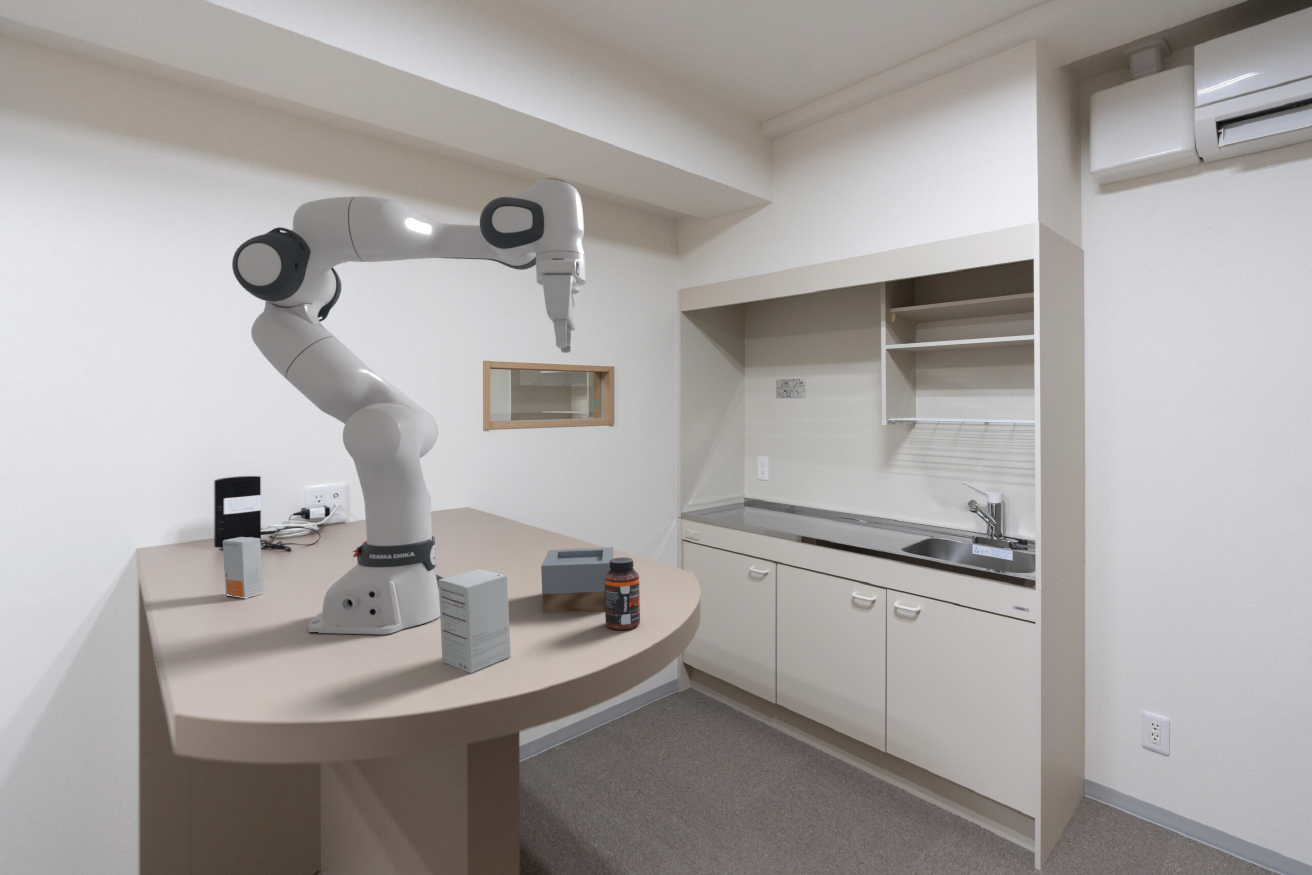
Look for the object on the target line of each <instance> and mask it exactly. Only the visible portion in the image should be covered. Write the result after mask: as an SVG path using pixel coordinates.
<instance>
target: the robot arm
mask: <svg viewBox="0 0 1312 875" xmlns="http://www.w3.org/2000/svg"><path fill="white" fill-rule="evenodd" d="M292 218H293V220H292V229H289V228H286V227H281V226H278V227H275V228H273V229H271V230H269V231H268V232H266V233H264V234H263V233H262V234H260V235H257V236H254V237H251V238H248V239H247V240H246V241H244V242H242V243H241V245H240V246H238V247H237V249H236V250H235V252H234V254H233V257H232V264H231V266H232V271H233V274H234V278H236V280H237V282H238V283H239V285H240V286H241V287H242V288H243V289H244V290H245V291H247V292H248V293H249V294H251V295H252V296H253V297H255V298H257V299H259V300H262V301H265V302H264V303H265V304H264V309H263V312H261V313H260V314H259V315H258V316H257V317H256V319H255V320H254V321H253V324H252V326H251V329H250V330H251V332H250V335H251V339H252V341H253V343H254V344H255V345H256V347H257V349H258V350H259V351H260V353H261V354H262V355H263V356H264V357H265V359H266V360H267V361H268V362H269V364H271V365H272V367H273V368H274V369H275V370H276V371H277V372H278V373H279V374H280V375H281V377H283V378H285V380H287V381H288V382H289V383H290V384H291V385H292V386H293V387H294V388H295V389H296V390H298V392H300V393H301V394H302V395H303V396H304V397H305V398H307V400H309V401H310V402H311V403H312V404H313V405H314V406H315V407H317V408H318V410H320V411H321V412H323V413H325V414H326V415H329V416H331V417H332V418H335V419H336V420H338V421H339V422H341V423H343V424H344V427H343V430H342V441H343V446H344V448H345V450H346V451H347V453H348V454H349V455H350V457H351V458H352V460H353V463H354V466H355V471H356V473H357V477H358V480H359V484H360V488H361V492H362V496H363V501H364V512H365V513H364V514H365V528H366V529H365V530H366V532H365V534H366V540H365V541H363V543H362V544H361V545H359V546H358V547H357V548H356V549H355V550H353V551H352V553H354V554H353V555H352V558H356V561H357V564H356V565H354V566H353V567H352V568H351V569H349V570H348V572H346V573H345V574H344V575H343V576H341V577H340V578H339V579H338V580H337V581H336V582H334V583H333V584H331V586H330V587H329V588H328V589H327V591H326V592H325V594H324V598H323V603H322V610H321V611H322V612H320V613H319V614H316V616H314V617H313V618H311V620H310V621H309V623H308V626H307V627H308V629H307V630H309V631H308V632H309V633H310V632H318V633H317V634H343V635H344V634H351V635H353V634H356V635H389V634H392V633H393V634H394V633H395V632H399V631H402V630H404V629H407V628H412V627H416V626H420V625H422V624H426V623H429V622H432V621H434V620H436V619H438V618H440V601H439V583H438V580H437V573H436V566H437V545H436V538H435V536H434V535H433V523H432V522H433V521H432V520H433V519H432V503H431V502H432V500H431V493H430V491H429V489H428V488H427V484H426V481H425V477H424V474H423V470H422V464H421V460H420V459H421V458H423V457H424V456H426V455H427V454H428V453H429V452H430V451H431V450H432V448H434V446H435V445H436V442H437V439H438V436H439V427H438V424H437V421H436V419H435V418H434V417H433V415H432V414H430V413H429V411H427V410H425V409H424V408H423V407H422V406H420V405H419V404H418V403H417V402H416V401H414V400H413V399H412V398H410V397H409V396H408V395H407V394H405V393H404V392H403V391H401V390H400V389H399V388H397V387H396V386H395V385H393V384H392V383H391V382H389V381H388V380H386V379H385V378H384V377H382V376H381V375H380V374H378V373H376V372H375V371H374V370H373V369H371V368H370V367H369V366H368V365H366V364H365V362H363V360H361V359H360V358H359V357H358V356H357V355H355V353H353V352H352V351H351V350H350V349H349V348H348V347H347V346H346V345H344V343H342V342H341V341H340V340H339V339H338V338H337V337H336V336H335V335H334V334H333V333H331V332H330V331H329V330H328V329H327V328H326V327H325V326H324V325H323V324H322V323H321V322H323V321H325V320H326V319H327V318H328V315H329V313H330V311H331V309H333V307H334V306H335V305H336V303H338V300H339V298H340V296H341V293H342V281H341V278H340V276H339V274H338V273H337V271H336V269H335V268H334V267H336V266H338V265H341V264H343V263H345V264H346V263H348V262H354V263H356V262H357V263H366V262H367V263H377V262H393V261H404V260H405V261H407V260H421V259H453V260H454V259H456V260H481V261H482V260H486V261H492V262H496V263H499V264H502V265H503V266H505V267H508V268H511V269H513V270H519V271H520V270H528V269H531V268H533V267H535V268H536V269H535V270H536V283H537V285H539V286H542V289H543V297H544V302H545V304H544V305H545V309H546V314H547V317H548V318H549V319H550V321H551V322H552V323H553V328H554V330H553V331H554V333H555V334H554V335H555V346H556V347H557V348H559V349H560V351H561V353H562V354H563V353H564V354H565V353H566V354H567V353H568V354H569V353H570V352H571V351H572V350H571V347H572V345H571V343H572V331H575V330H576V329H577V319H576V299H575V295H576V294H579V292H580V286H583V285H585V284H586V282H587V278H586V272H587V271H586V255H585V250H584V247H583V240H584V236H585V235H584V234H585V223H584V222H585V221H584V220H585V219H584V208H583V202H582V197H581V195H580V193H579V191H578V190H577V188H576V187H575V186H574V185H572V184H571V183H568V182H566V181H565V180H562V179H557V178H553V177H551V178H550V177H549V178H542V179H540V180H539V179H538V181H537V182H535V184H534V185H532V186H531V187H529V188H528V189H526V190H523V191H521V192H519V193H515V194H511V195H509V196H501V197H497V198H495V199H493V200H490V202H488V203H487V204H486V205H485V206H484V208H483V209H482V211H481V214H480V217H479V225H477V224H455V223H453V224H451V223H446V222H445V223H443V222H440V221H437V220H434V219H431V218H429V217H427V216H425V215H422V214H421V213H418V212H417V211H415V210H414V209H411V208H410V207H409V206H407V205H405V204H404V203H402V202H400V201H399V200H398V201H396V200H394V199H389V198H383V197H378V196H368V195H367V196H365V195H364V196H363V195H362V196H359V195H358V196H339V197H337V196H336V197H329V198H323V199H316V200H312V201H307V202H305V203H302V204H301V205H300V206H299V207H298V208H297V209H296V210H295V212H294V214H293V217H292Z"/></svg>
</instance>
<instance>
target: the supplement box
mask: <svg viewBox="0 0 1312 875" xmlns="http://www.w3.org/2000/svg"><path fill="white" fill-rule="evenodd" d="M437 583H438V588H439V601H440V617H439V619H440V635H441V637H440V638H441V640H440V641H441V654H442V655H441V656H442V657H441V658H442V660H441V661H442V662H443V663H445V664H446V665H449V666H452V667H454V668H456V669H458V670H461V671H463V672H465V673H468V674H472V673H473V674H474V673H475V672H477V671H480V670H483V669H484V668H486V667H490V666H492V665H495V664H497V663H499V662H502V661H504V660H507V659H509V658H511V655H512V654H511V653H512V652H511V637H510V636H511V633H510V615H509V610H510V609H509V592H508V591H509V590H508V576H507V575H505V574H501V573H498V572H497V573H496V572H493V571H489V570H484V569H479V568H477V569H474V570H471V571H467V572H463V573H459V574H456V575H452V576H447V577H444V578H439V579H438V580H437Z"/></svg>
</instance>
